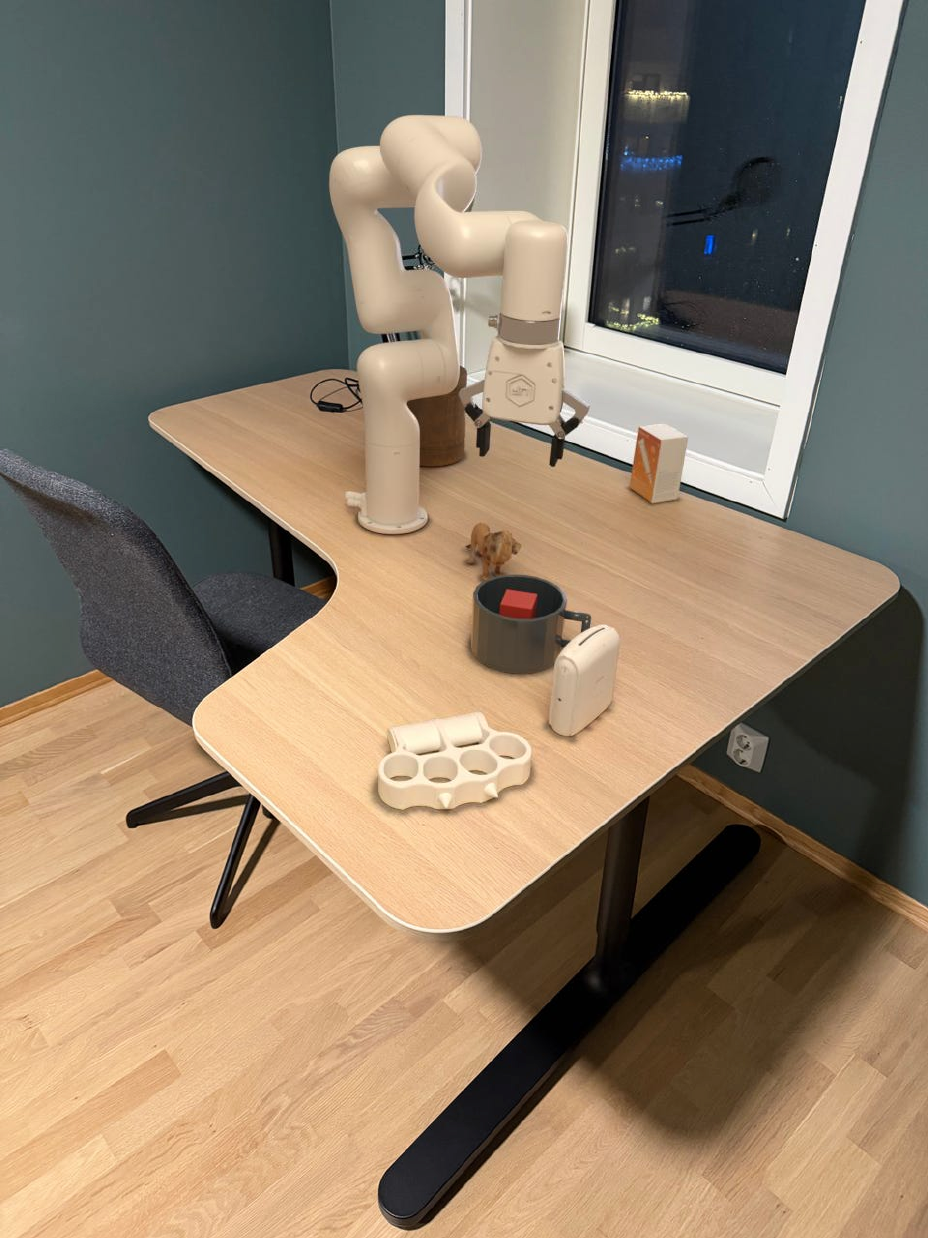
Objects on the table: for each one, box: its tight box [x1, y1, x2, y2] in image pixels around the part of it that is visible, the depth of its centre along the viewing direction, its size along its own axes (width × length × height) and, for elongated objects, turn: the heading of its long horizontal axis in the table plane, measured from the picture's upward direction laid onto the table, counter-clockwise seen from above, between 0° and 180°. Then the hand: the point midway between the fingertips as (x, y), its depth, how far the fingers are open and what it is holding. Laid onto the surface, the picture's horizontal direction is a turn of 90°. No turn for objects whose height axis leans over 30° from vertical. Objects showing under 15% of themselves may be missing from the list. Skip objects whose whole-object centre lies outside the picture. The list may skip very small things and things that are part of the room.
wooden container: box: [406, 365, 468, 467], centre depth 183 cm, size 15×15×22 cm
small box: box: [629, 423, 689, 504], centre depth 171 cm, size 8×6×13 cm
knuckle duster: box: [377, 710, 533, 811], centre depth 101 cm, size 3×18×15 cm
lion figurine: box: [464, 522, 523, 581], centre depth 143 cm, size 15×5×9 cm, turn 28°
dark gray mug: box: [470, 573, 592, 675], centre depth 122 cm, size 16×13×8 cm
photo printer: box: [548, 624, 621, 737], centre depth 109 cm, size 10×4×12 cm, turn 140°
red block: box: [499, 589, 537, 619], centre depth 123 cm, size 4×4×8 cm
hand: (518, 458), depth 119 cm, fingers open, 9 cm apart
